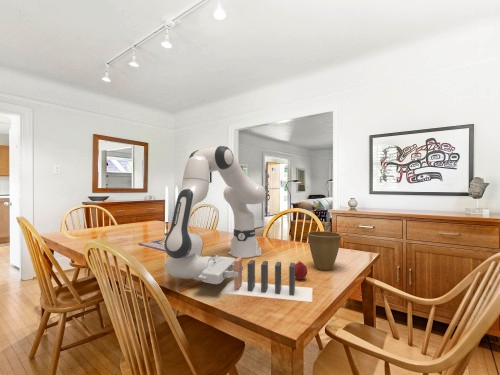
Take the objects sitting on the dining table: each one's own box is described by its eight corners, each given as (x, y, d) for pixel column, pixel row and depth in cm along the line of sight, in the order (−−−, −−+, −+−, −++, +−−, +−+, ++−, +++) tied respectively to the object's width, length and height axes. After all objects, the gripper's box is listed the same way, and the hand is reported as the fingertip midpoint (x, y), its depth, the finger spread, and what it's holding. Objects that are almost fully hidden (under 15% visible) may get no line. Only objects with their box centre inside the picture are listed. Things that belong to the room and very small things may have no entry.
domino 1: (250, 286, 101) (250, 259, 101) (255, 286, 101) (254, 260, 101) (247, 291, 96) (247, 263, 96) (251, 291, 96) (251, 264, 96)
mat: (230, 281, 107) (230, 280, 107) (312, 288, 99) (312, 287, 99) (220, 293, 95) (220, 292, 95) (312, 302, 87) (312, 301, 87)
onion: (305, 277, 111) (305, 258, 111) (308, 282, 105) (308, 262, 105) (291, 277, 111) (291, 258, 111) (294, 282, 105) (294, 262, 105)
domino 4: (290, 289, 98) (290, 262, 97) (294, 290, 97) (294, 262, 97) (289, 295, 93) (289, 266, 93) (293, 295, 92) (293, 267, 92)
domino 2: (263, 287, 100) (263, 260, 100) (267, 287, 100) (267, 261, 99) (261, 292, 95) (261, 264, 95) (265, 292, 95) (265, 265, 95)
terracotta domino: (238, 283, 102) (238, 257, 102) (242, 283, 102) (242, 257, 102) (234, 288, 97) (234, 261, 97) (238, 288, 97) (238, 261, 97)
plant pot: (343, 274, 114) (343, 237, 114) (307, 272, 117) (307, 236, 117) (338, 264, 129) (338, 231, 129) (307, 262, 132) (307, 230, 132)
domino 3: (276, 288, 99) (276, 261, 99) (281, 288, 98) (281, 261, 98) (275, 293, 94) (274, 265, 94) (279, 294, 94) (279, 266, 93)
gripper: (194, 268, 93) (232, 271, 89) (215, 253, 112) (247, 255, 109) (194, 286, 93) (232, 290, 89) (215, 268, 113) (247, 270, 109)
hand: (240, 271), depth 99 cm, fingers closed on terracotta domino, 5 cm apart
